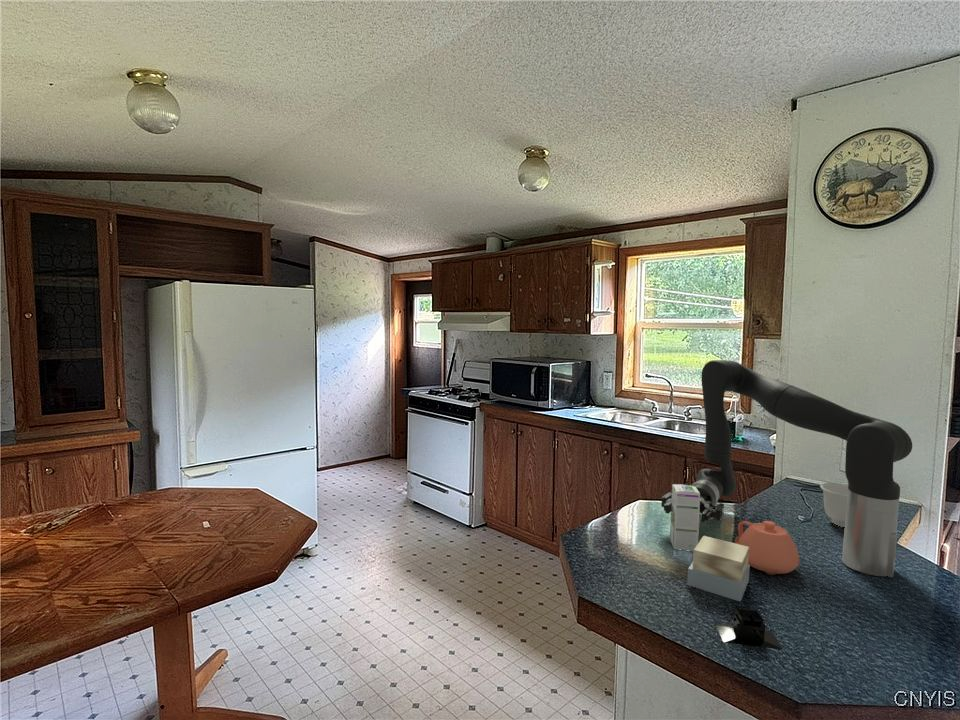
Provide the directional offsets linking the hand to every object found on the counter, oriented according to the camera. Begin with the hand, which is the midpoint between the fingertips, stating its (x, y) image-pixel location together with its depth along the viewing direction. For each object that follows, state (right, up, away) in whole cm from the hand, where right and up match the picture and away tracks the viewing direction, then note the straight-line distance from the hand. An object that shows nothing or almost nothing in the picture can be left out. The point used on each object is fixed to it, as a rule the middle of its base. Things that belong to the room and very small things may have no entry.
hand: (684, 513), depth 124 cm
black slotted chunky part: (-3, -12, -35) cm, 37 cm away
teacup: (+52, -8, +18) cm, 55 cm away
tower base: (0, -10, -17) cm, 20 cm away
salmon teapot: (+15, -9, -8) cm, 19 cm away
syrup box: (0, -8, +1) cm, 8 cm away
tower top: (+1, -6, -17) cm, 18 cm away
